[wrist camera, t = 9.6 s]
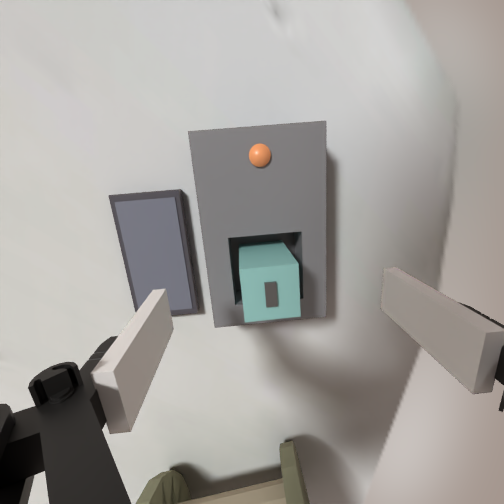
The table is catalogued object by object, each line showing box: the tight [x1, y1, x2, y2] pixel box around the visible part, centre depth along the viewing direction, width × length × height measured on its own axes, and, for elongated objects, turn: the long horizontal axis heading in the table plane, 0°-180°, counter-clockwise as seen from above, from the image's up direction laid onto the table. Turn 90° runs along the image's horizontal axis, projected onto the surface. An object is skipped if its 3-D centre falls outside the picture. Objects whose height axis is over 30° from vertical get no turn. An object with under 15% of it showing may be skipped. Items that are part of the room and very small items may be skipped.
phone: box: [109, 189, 199, 315], centre depth 24 cm, size 6×12×1 cm, turn 5°
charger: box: [239, 240, 301, 322], centre depth 21 cm, size 4×4×7 cm
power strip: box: [188, 121, 326, 328], centre depth 22 cm, size 16×10×4 cm, turn 5°
